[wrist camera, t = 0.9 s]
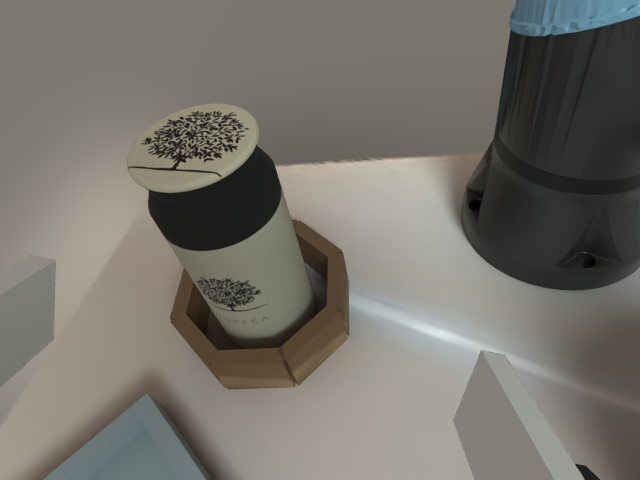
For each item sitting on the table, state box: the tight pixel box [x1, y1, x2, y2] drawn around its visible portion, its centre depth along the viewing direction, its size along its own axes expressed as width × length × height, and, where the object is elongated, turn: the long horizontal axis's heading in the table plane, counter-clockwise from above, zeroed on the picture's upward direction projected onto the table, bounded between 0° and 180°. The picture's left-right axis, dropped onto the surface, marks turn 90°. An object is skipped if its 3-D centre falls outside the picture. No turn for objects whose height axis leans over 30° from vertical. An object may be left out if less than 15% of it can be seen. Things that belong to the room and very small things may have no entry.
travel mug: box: [127, 103, 316, 349], centre depth 31 cm, size 8×8×18 cm
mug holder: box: [170, 220, 349, 389], centre depth 37 cm, size 13×13×4 cm
